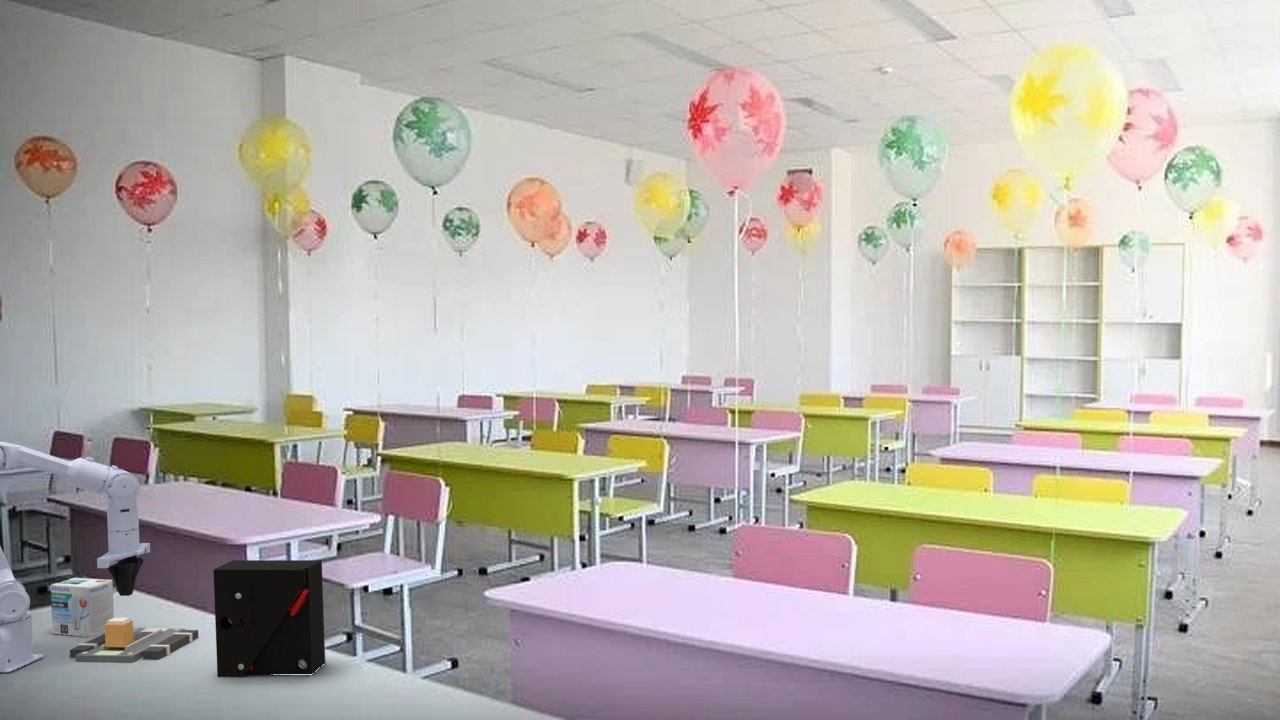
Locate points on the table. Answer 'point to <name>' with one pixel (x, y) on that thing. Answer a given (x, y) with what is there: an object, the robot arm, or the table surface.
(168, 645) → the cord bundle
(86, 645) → the cord bundle
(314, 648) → the electrical component
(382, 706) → the table surface
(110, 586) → the light bulb box
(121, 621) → the breaker knob
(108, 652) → the breaker panel
